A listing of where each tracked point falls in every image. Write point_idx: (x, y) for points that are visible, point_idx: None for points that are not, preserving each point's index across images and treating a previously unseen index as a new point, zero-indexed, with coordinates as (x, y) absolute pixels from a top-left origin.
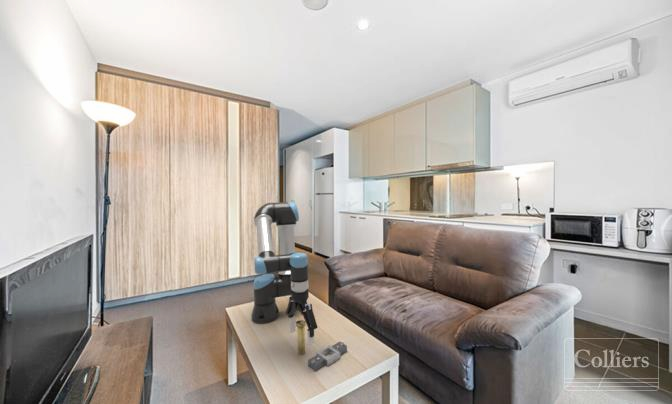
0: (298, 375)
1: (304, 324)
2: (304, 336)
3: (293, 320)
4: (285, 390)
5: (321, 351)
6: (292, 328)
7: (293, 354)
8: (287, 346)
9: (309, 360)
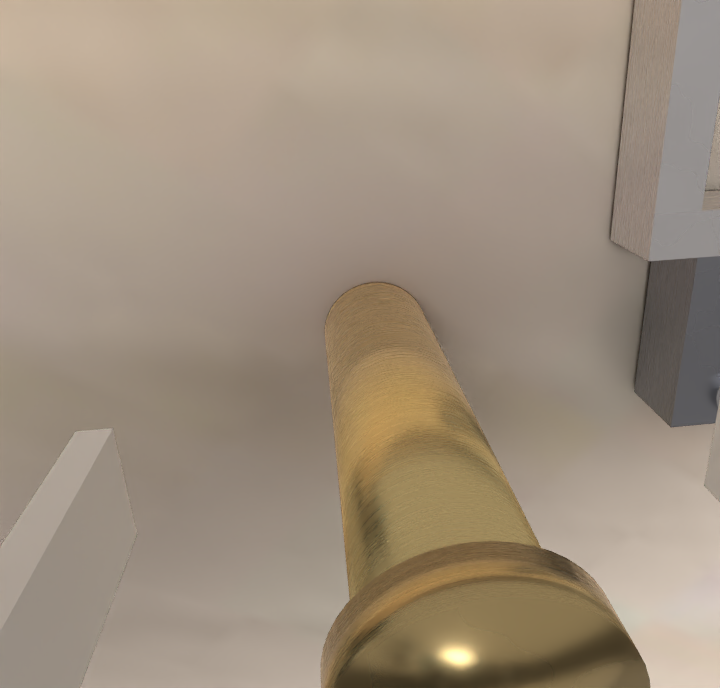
0: (650, 518)
1: (645, 669)
2: (479, 426)
3: (28, 673)
4: (692, 654)
5: (696, 183)
6: (108, 544)
7: (327, 417)
8: (116, 403)
9: (693, 417)
